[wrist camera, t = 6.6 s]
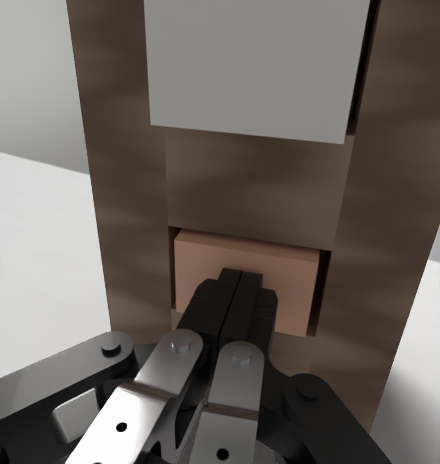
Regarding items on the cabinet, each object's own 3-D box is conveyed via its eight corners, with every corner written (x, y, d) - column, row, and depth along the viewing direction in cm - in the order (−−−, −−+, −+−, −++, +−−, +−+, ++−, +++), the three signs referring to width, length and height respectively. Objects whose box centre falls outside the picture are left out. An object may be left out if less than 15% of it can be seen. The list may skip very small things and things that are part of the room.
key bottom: (176, 311, 16) (174, 240, 15) (199, 268, 19) (199, 204, 18) (305, 337, 15) (318, 263, 14) (310, 288, 18) (322, 221, 16)
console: (117, 375, 20) (-44, -805, 7) (162, 301, 25) (123, -451, 12) (368, 435, 18) (935, -1244, 4) (361, 340, 23) (606, -554, 9)
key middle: (150, 125, 11) (142, -19, 10) (187, 102, 14) (186, -14, 12) (343, 144, 10) (372, -14, 8) (342, 115, 13) (364, -9, 11)
